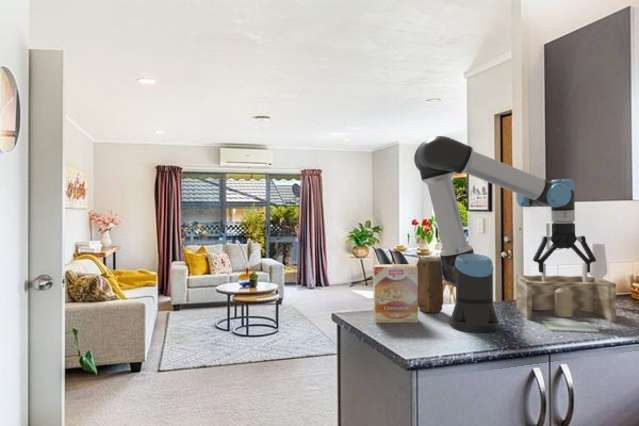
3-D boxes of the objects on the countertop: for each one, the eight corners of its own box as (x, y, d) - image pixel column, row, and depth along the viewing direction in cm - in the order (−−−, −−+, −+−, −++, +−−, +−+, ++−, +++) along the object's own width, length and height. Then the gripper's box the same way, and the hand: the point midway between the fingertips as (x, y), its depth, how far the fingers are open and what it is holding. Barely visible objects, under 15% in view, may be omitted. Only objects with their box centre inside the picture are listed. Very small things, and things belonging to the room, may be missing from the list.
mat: (550, 330, 150) (550, 329, 150) (541, 322, 161) (541, 320, 161) (599, 332, 147) (599, 330, 147) (587, 323, 158) (587, 322, 158)
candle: (552, 313, 173) (552, 286, 173) (567, 313, 173) (567, 286, 172) (559, 317, 167) (559, 289, 167) (575, 317, 167) (575, 289, 167)
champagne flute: (585, 304, 189) (585, 244, 188) (591, 301, 193) (590, 243, 193) (604, 306, 184) (604, 244, 184) (610, 303, 189) (609, 243, 188)
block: (445, 312, 176) (444, 259, 176) (427, 314, 174) (425, 260, 174) (431, 307, 187) (429, 256, 186) (413, 308, 185) (412, 257, 184)
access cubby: (527, 319, 165) (526, 282, 165) (516, 308, 183) (516, 274, 182) (615, 322, 159) (615, 283, 159) (596, 310, 177) (596, 276, 177)
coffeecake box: (375, 323, 163) (374, 266, 163) (373, 318, 170) (372, 264, 170) (418, 322, 163) (418, 266, 162) (415, 317, 170) (414, 263, 169)
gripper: (528, 223, 168) (529, 283, 169) (605, 222, 163) (606, 283, 164) (523, 222, 176) (524, 279, 176) (597, 221, 171) (598, 280, 171)
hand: (564, 281), depth 170 cm, fingers open, 13 cm apart
